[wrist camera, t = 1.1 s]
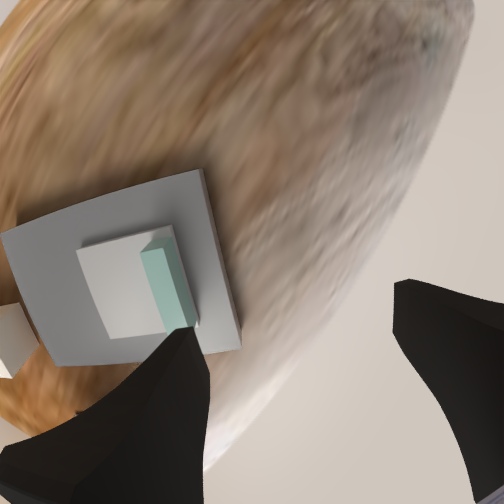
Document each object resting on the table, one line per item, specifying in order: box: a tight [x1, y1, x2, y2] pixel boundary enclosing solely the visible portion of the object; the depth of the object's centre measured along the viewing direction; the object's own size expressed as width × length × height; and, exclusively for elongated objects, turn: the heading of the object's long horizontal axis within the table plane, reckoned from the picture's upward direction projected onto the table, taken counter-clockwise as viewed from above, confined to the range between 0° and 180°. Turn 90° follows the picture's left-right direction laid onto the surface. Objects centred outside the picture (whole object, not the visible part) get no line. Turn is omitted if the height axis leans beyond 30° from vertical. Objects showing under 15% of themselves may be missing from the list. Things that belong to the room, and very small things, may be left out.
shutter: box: [76, 224, 200, 339], centre depth 15 cm, size 6×6×3 cm
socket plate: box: [0, 168, 242, 367], centre depth 17 cm, size 11×15×2 cm
